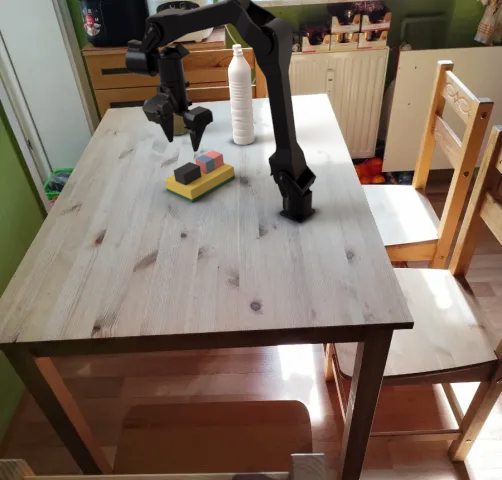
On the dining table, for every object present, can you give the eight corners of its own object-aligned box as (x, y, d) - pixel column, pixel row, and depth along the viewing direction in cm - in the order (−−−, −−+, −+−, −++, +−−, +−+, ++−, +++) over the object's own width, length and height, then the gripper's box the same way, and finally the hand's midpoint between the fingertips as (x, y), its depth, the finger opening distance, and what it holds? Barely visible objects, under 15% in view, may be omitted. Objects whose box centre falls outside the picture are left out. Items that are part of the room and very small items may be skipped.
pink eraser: (213, 160, 128) (212, 149, 126) (224, 164, 126) (222, 153, 124) (196, 169, 125) (194, 158, 123) (207, 173, 123) (205, 162, 120)
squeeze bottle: (162, 130, 153) (151, 70, 140) (185, 125, 155) (176, 65, 142) (170, 139, 148) (159, 77, 135) (193, 133, 150) (185, 72, 137)
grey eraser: (191, 172, 124) (189, 161, 122) (201, 176, 122) (200, 165, 120) (175, 181, 121) (173, 170, 119) (185, 185, 119) (183, 174, 117)
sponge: (209, 168, 132) (208, 156, 130) (234, 178, 127) (233, 166, 125) (167, 191, 124) (164, 179, 122) (192, 202, 119) (190, 190, 117)
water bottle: (255, 144, 141) (250, 51, 124) (234, 146, 141) (226, 54, 123) (252, 132, 148) (247, 43, 130) (232, 134, 147) (224, 45, 129)
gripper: (118, 81, 105) (134, 148, 116) (172, 97, 96) (184, 169, 107) (156, 67, 110) (168, 133, 121) (210, 81, 101) (218, 151, 112)
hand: (183, 146), depth 115 cm, fingers open, 9 cm apart
